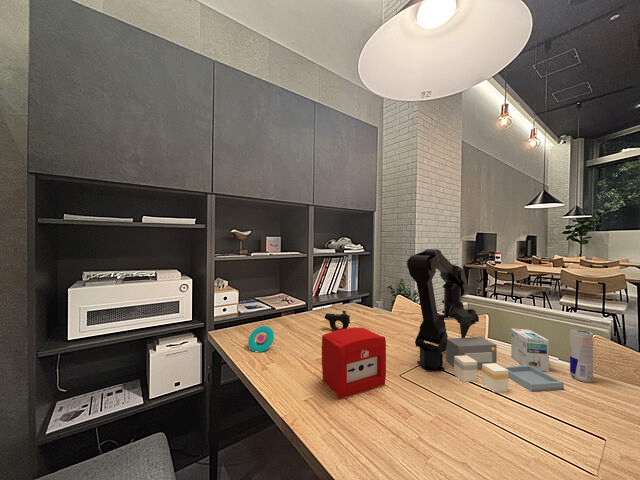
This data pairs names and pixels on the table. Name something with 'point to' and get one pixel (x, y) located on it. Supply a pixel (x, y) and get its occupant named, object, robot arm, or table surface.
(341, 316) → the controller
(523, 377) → the tray
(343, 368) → the fire alarm
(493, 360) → the block
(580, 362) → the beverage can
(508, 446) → the table surface
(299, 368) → the table surface
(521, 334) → the light bulb box
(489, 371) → the cream taped block
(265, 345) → the ornament
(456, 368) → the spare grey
